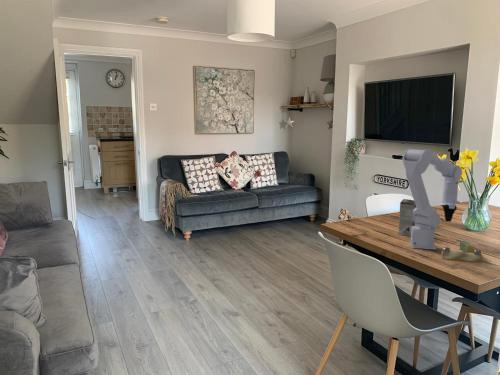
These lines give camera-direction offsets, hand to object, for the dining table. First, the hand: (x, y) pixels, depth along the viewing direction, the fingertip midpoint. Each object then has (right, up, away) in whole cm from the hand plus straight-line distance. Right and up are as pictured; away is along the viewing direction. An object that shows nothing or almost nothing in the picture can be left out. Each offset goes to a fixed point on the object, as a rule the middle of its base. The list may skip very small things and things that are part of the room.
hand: (448, 221), depth 176 cm
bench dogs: (-6, -13, -22) cm, 26 cm away
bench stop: (-6, -13, -22) cm, 26 cm away
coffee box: (-13, -7, +15) cm, 21 cm away
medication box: (+1, -13, -16) cm, 21 cm away
